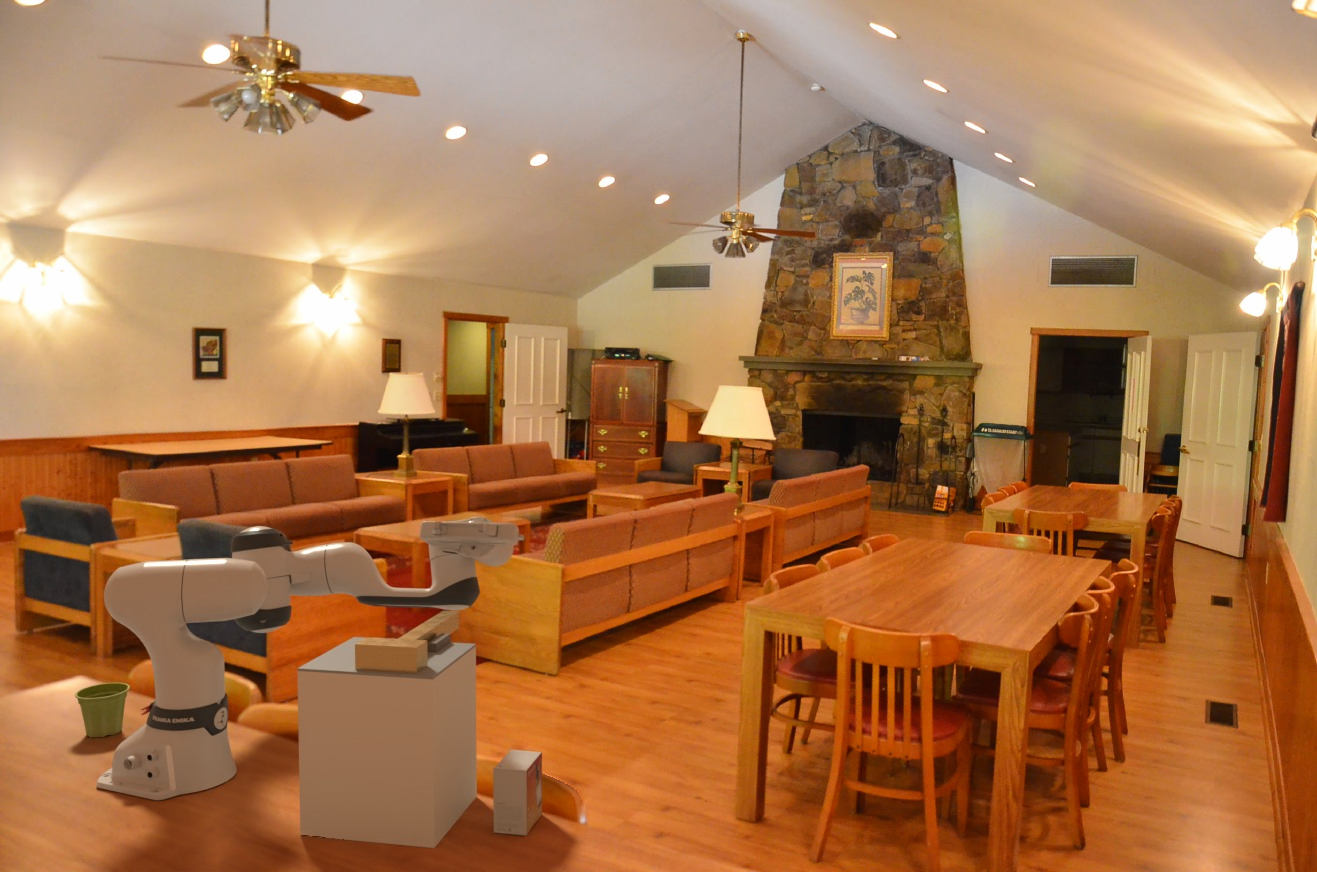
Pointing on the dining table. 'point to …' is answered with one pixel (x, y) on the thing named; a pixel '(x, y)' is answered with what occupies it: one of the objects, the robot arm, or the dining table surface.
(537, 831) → the dining table surface
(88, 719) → the plant pot
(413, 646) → the wooden t-shaped block
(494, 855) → the dining table surface
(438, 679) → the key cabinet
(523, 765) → the small box
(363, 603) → the robot arm
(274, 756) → the dining table surface
